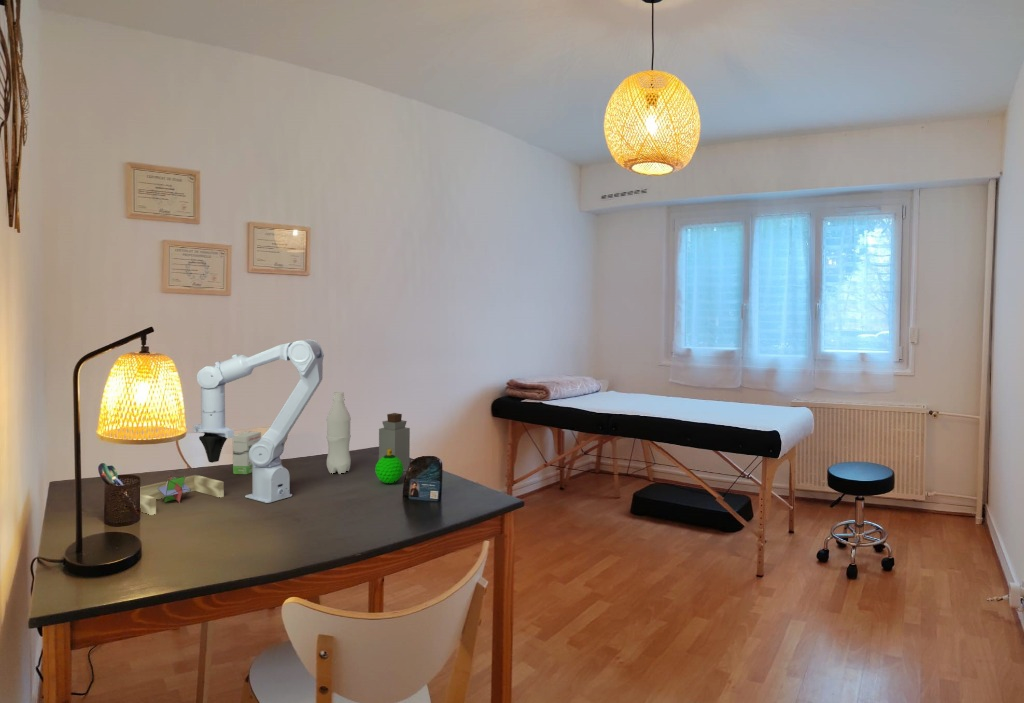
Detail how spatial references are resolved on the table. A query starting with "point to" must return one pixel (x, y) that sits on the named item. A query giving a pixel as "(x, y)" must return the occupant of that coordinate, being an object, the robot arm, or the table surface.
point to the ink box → (243, 451)
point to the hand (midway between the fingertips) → (213, 461)
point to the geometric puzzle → (174, 489)
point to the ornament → (389, 468)
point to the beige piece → (194, 484)
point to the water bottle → (338, 436)
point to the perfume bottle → (395, 438)
